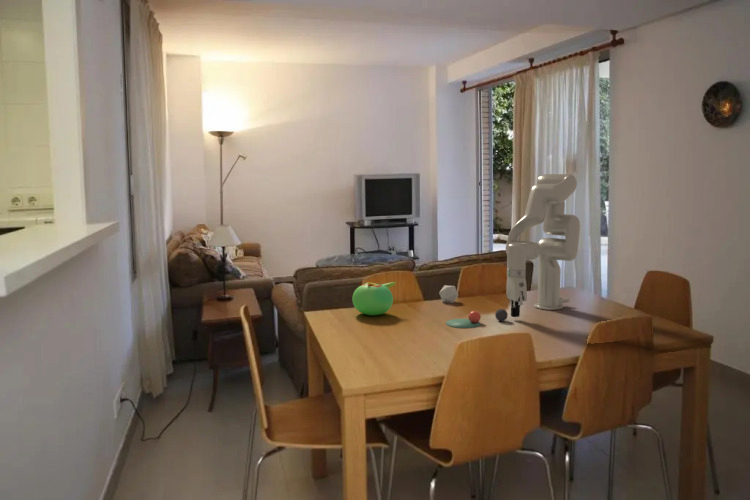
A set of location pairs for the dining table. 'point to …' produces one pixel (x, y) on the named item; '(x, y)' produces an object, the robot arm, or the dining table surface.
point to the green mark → (462, 323)
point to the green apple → (373, 298)
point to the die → (448, 294)
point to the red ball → (474, 316)
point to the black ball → (501, 315)
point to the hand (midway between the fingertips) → (515, 316)
